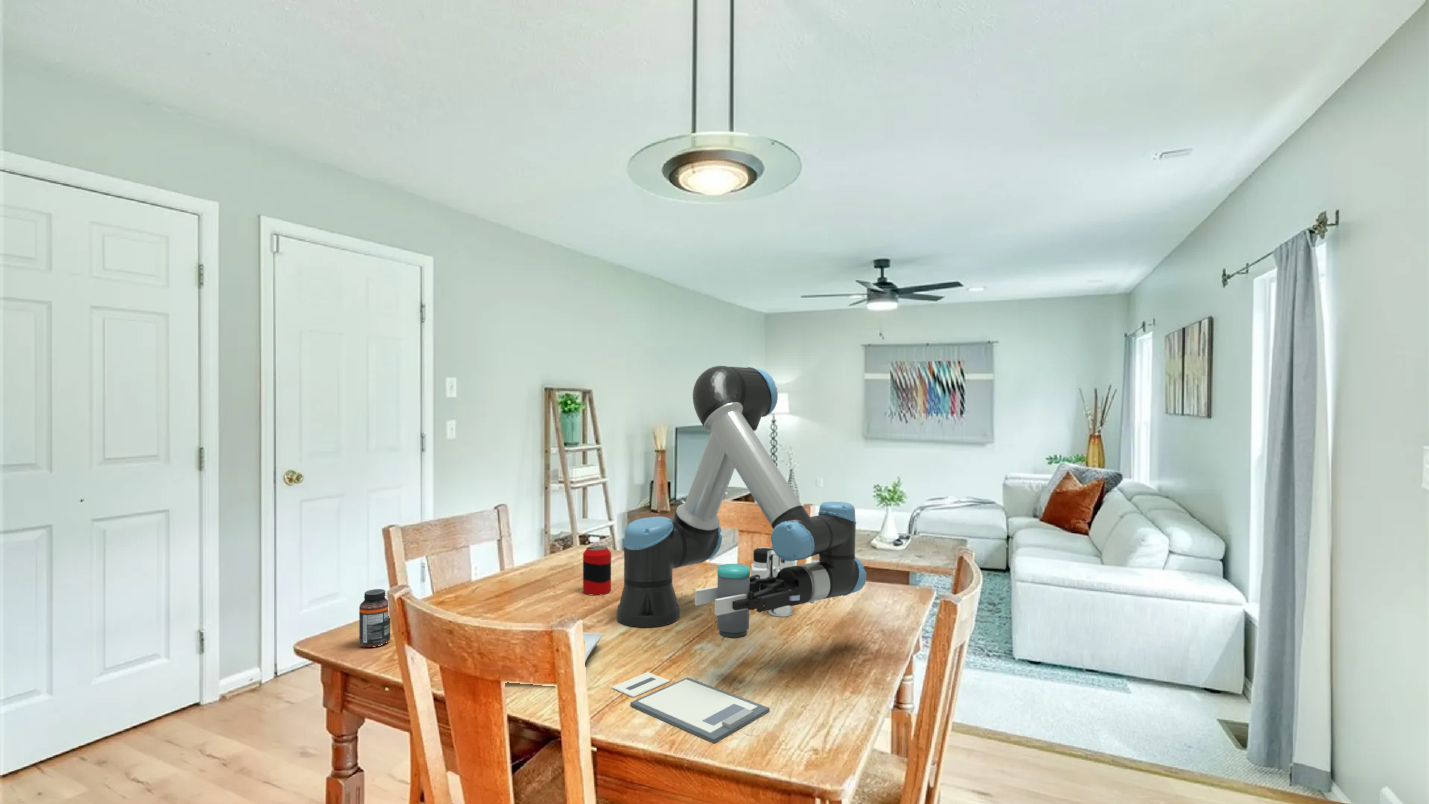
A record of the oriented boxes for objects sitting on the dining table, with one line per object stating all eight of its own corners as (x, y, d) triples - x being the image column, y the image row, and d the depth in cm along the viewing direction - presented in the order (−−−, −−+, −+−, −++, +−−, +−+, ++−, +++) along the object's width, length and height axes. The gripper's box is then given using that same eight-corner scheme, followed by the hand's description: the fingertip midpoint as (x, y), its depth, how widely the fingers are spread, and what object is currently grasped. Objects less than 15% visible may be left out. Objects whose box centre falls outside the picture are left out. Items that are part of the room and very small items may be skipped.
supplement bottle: (363, 640, 144) (363, 588, 144) (393, 638, 146) (393, 586, 146) (355, 650, 139) (355, 595, 139) (386, 647, 140) (387, 593, 140)
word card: (611, 688, 120) (611, 686, 120) (647, 673, 127) (647, 671, 127) (633, 697, 116) (633, 696, 116) (670, 681, 123) (670, 680, 123)
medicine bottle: (778, 596, 178) (778, 551, 178) (752, 596, 178) (752, 551, 178) (776, 588, 185) (776, 545, 186) (750, 588, 186) (750, 545, 186)
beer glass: (793, 618, 160) (793, 556, 160) (764, 616, 161) (764, 554, 161) (795, 609, 166) (795, 549, 166) (768, 607, 168) (768, 548, 168)
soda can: (584, 588, 186) (584, 545, 186) (611, 587, 187) (611, 544, 187) (581, 596, 178) (581, 551, 178) (610, 595, 179) (610, 550, 179)
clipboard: (630, 705, 113) (630, 698, 113) (687, 680, 123) (687, 673, 123) (714, 743, 100) (714, 734, 100) (769, 711, 111) (769, 703, 111)
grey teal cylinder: (710, 633, 124) (710, 567, 124) (730, 625, 129) (731, 562, 129) (735, 642, 120) (735, 573, 120) (755, 633, 125) (756, 567, 125)
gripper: (834, 615, 126) (735, 638, 113) (771, 591, 142) (678, 609, 129) (835, 576, 126) (736, 595, 113) (772, 556, 142) (679, 570, 129)
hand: (705, 602), depth 121 cm, fingers closed on grey teal cylinder, 6 cm apart
